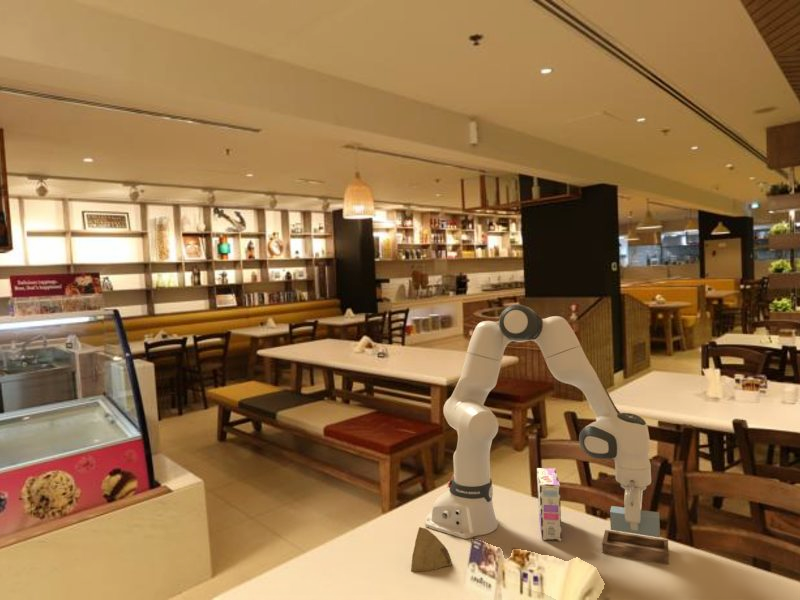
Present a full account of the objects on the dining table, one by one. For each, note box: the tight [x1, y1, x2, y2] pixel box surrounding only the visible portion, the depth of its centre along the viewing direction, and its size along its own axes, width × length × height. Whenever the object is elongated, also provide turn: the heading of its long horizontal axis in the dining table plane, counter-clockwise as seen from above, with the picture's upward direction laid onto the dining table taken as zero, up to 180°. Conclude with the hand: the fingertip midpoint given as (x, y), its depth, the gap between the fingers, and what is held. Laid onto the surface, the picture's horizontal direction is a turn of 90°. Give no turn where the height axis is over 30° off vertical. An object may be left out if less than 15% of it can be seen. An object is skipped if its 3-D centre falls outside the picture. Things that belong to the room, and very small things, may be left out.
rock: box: [410, 526, 453, 573], centre depth 139 cm, size 11×9×10 cm
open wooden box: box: [601, 529, 670, 565], centre depth 142 cm, size 16×8×4 cm, turn 63°
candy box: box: [536, 467, 563, 542], centre depth 156 cm, size 14×6×16 cm, turn 168°
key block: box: [609, 505, 661, 539], centre depth 142 cm, size 4×12×5 cm, turn 64°
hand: (634, 524), depth 142 cm, fingers closed on key block, 4 cm apart
